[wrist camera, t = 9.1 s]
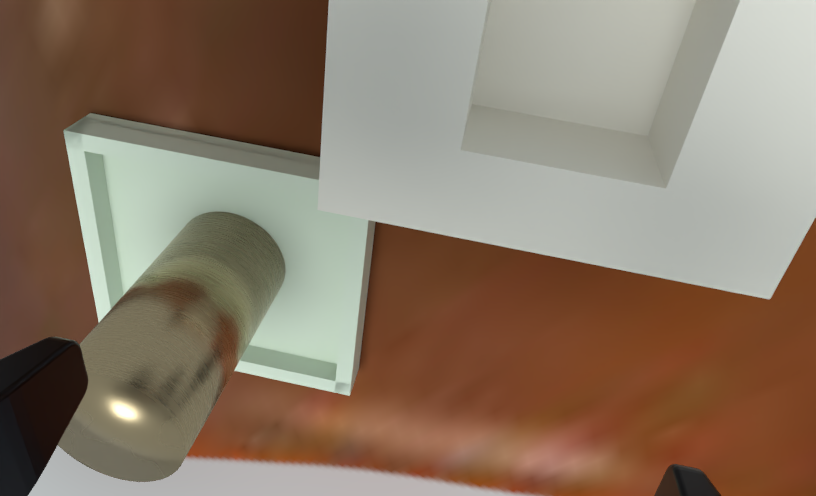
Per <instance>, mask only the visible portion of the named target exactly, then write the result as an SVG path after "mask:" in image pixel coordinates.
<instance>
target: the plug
mask: <svg viewBox="0 0 816 496" xmlns="http://www.w3.org/2000/svg"><path fill="white" fill-rule="evenodd" d="M285 272H286V270H285V261H284V258H283V255H282V252H281V250H280V248H279V246H278V245H277V243H276V242H275V240H274V239H273V238H272V237H271V236H270V234H269V233H267V232H266V231H265V230H264V229H263V228H262V227H261V226H259V225H258V224H256V223H255V222H253V221H251V220H249V219H247V218H245V217H243V216H240V215H237V214H234V213H229V212H218V211H216V212H208V213H204V214H201V215H199V216H196V217H195V218H193V219H192V220H191V221H189V222H188V223H187V224H186V225H185V227H184V228H183V229H182V230H181V231H180V232H179V233H178V234H177V236H176V237H175V238H174V239H173V240H172V241H171V242H170V243H169V245H168V246H167V247H166V248H165V249H164V250H163V251H162V252H161V254H160V255H159V256H158V257H157V258H156V259H155V260H154V261H153V263H152V264H151V265H150V266H149V267H148V268H147V269H146V270H145V271H144V273H143V274H142V275H141V276H140V277H139V278H138V279H137V280H136V282H135V283H134V284H133V285H132V286H131V287H130V288H129V289H128V291H127V292H126V293H125V294H124V295H123V296H122V297H121V298H120V300H119V301H118V302H117V303H116V304H115V305H114V306H113V307H112V309H111V310H110V311H109V312H108V313H107V314H106V315H105V316H104V318H103V319H102V320H101V321H100V322H99V323H98V324H97V325H96V327H95V328H94V329H93V330H92V331H91V332H90V333H89V334H88V336H87V337H86V338H85V339H84V340H83V341H82V342H81V343H80V347H81V350H82V354H83V359H84V363H85V367H86V371H87V375H88V387H87V390H86V393H85V395H84V397H83V399H82V401H81V403H80V405H79V406H78V408H77V410H76V412H75V414H74V416H73V417H72V419H71V421H70V423H69V425H68V427H67V428H66V430H65V432H64V434H63V436H62V438H61V439H60V441H59V443H58V446H59V447H60V448H62V449H63V450H64V451H65V452H66V453H67V454H69V455H70V456H72V457H73V458H74V459H76V460H77V461H79V462H81V463H82V464H84V465H86V466H87V467H89V468H91V469H93V470H95V471H98V472H100V473H103V474H105V475H108V476H111V477H114V478H118V479H122V480H128V481H136V482H148V481H156V480H160V479H163V478H166V477H168V476H170V475H172V474H173V473H174V472H175V471H176V470H178V468H179V467H180V466H181V464H182V462H183V461H184V459H185V457H186V455H187V454H188V452H189V450H190V448H191V446H192V445H193V443H194V441H195V439H196V438H197V436H198V434H199V432H200V430H201V429H202V427H203V425H204V423H205V422H206V420H207V418H208V416H209V414H210V413H211V411H212V409H213V407H214V406H215V404H216V402H217V400H218V398H219V397H220V395H221V393H222V391H223V390H224V388H225V386H226V384H227V382H228V381H229V379H230V377H231V375H232V374H233V372H234V370H235V368H236V366H237V365H238V363H239V361H240V359H241V358H242V356H243V354H244V352H245V350H246V349H247V347H248V345H249V343H250V342H251V340H252V338H253V336H254V334H255V333H256V331H257V329H258V327H259V326H260V324H261V322H262V320H263V318H264V317H265V315H266V313H267V311H268V310H269V308H270V306H271V304H272V302H273V301H274V299H275V297H276V295H277V294H278V292H279V290H280V288H281V286H282V284H283V282H284V279H285Z"/></svg>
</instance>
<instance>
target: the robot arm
mask: <svg viewBox="0 0 816 496" xmlns="http://www.w3.org/2000/svg"><path fill="white" fill-rule="evenodd" d="M87 387H88V375H87V371H86V367H85V363H84V359H83V354H82V350H81V347H80V345H79V344H78V343H77V342H76V341H74V340H69V339H65V338H60V337H48V338H46V339H43V340H41V341H39V342H37V343H35V344H33V345H30V346H28V347H26V348H24V349H22V350H20V351H18V352H15V353H13V354H11V355H9V356H7V357H5V358H2V359H0V496H28V494H29V493H30V491H31V490H32V488H33V487H34V485H35V484H36V482H37V481H38V479H39V477H40V475H41V474H42V472H43V470H44V469H45V467H46V465H47V463H48V461H49V460H50V458H51V456H52V454H53V452H54V450H55V449H56V446H57V445H58V443H59V441H60V439H61V438H62V436H63V434H64V432H65V430H66V428H67V427H68V425H69V423H70V421H71V419H72V417H73V416H74V414H75V412H76V410H77V408H78V406H79V405H80V403H81V401H82V399H83V397H84V395H85V393H86V390H87ZM654 496H721V495H720V493H719V492H718V491H717V489H716V488H715V487H714V485H713V484H712V483H711V481H710V480H709V479H708V477H707V476H706V475H705V473H703V472H702V471H701V470H699V469H697V468H692V467H688V466H683V465H678V464H672V465H670V466H669V467H668V469H667V470H666V472H665V474H664V476H663V479H662V481H661V483H660V485H659V487H658V489H657V491H656V493H655V495H654Z"/></svg>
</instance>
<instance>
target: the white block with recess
mask: <svg viewBox="0 0 816 496" xmlns="http://www.w3.org/2000/svg"><path fill="white" fill-rule="evenodd" d="M317 210H320V211H325V212H331V213H336V214H341V215H346V216H351V217H356V218H361V219H366V220H371V221H376V222H381V223H386V224H391V225H396V226H401V227H406V228H411V229H416V230H421V231H426V232H432V233H437V234H442V235H447V236H452V237H457V238H462V239H467V240H472V241H477V242H482V243H487V244H492V245H497V246H502V247H507V248H512V249H517V250H522V251H527V252H532V253H538V254H543V255H548V256H553V257H558V258H563V259H568V260H573V261H578V262H583V263H588V264H593V265H598V266H603V267H608V268H613V269H618V270H623V271H628V272H633V273H639V274H644V275H649V276H654V277H659V278H664V279H669V280H674V281H679V282H684V283H689V284H694V285H699V286H704V287H709V288H714V289H719V290H724V291H729V292H734V293H739V294H745V295H750V296H755V297H760V298H765V299H770V298H771V297H772V295H773V293H774V291H775V289H776V287H777V286H778V284H779V282H780V280H781V278H782V277H783V275H784V273H785V271H786V269H787V268H788V266H789V264H790V262H791V260H792V259H793V257H794V255H795V253H796V251H797V250H798V248H799V246H800V244H801V242H802V241H803V239H804V237H805V235H806V233H807V232H808V230H809V228H810V226H811V224H812V223H813V221H814V219H815V217H816V0H329V7H328V25H327V44H326V62H325V80H324V99H323V117H322V135H321V154H320V172H319V191H318V209H317Z"/></svg>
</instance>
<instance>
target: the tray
mask: <svg viewBox="0 0 816 496" xmlns="http://www.w3.org/2000/svg"><path fill="white" fill-rule="evenodd" d="M63 131H64V136H65V142H66V147H67V153H68V158H69V163H70V169H71V174H72V180H73V185H74V191H75V196H76V201H77V207H78V212H79V218H80V223H81V228H82V234H83V239H84V245H85V250H86V256H87V261H88V266H89V272H90V277H91V283H92V288H93V294H94V299H95V304H96V310H97V315H98V321H99V322H100V321H101V320H102V319H103V318H104V316H105V315H106V314H107V313H108V312H109V311H110V310H111V309H112V307H113V306H114V305H115V304H116V303H117V302H118V301H119V300H120V298H121V297H122V296H123V295H124V294H125V293H126V292H127V291H128V289H129V288H130V287H131V286H132V285H133V284H134V283H135V282H136V280H137V279H138V278H139V277H140V276H141V275H142V274H143V273H144V271H145V270H146V269H147V268H148V267H149V266H150V265H151V264H152V263H153V261H154V260H155V259H156V258H157V257H158V256H159V255H160V254H161V252H162V251H163V250H164V249H165V248H166V247H167V246H168V245H169V243H170V242H171V241H172V240H173V239H174V238H175V237H176V236H177V234H178V233H179V232H180V231H181V230H182V229H183V228H184V227H185V225H186V224H187V223H188V222H189V221H191V220H192V219H193V218H195V217H196V216H199V215H201V214H204V213H208V212H216V211H218V212H229V213H234V214H237V215H240V216H243V217H245V218H247V219H249V220H251V221H253V222H255V223H256V224H258V225H259V226H261V227H262V228H263V229H264V230H265V231H266V232H267V233H269V234H270V236H271V237H272V238H273V239H274V240H275V242H276V243H277V245H278V246H279V248H280V250H281V252H282V255H283V258H284V261H285V270H286V272H285V279H284V282H283V284H282V286H281V288H280V290H279V292H278V294H277V295H276V297H275V299H274V301H273V302H272V304H271V306H270V308H269V310H268V311H267V313H266V315H265V317H264V318H263V320H262V322H261V324H260V326H259V327H258V329H257V331H256V333H255V334H254V336H253V338H252V340H251V342H250V343H249V345H248V347H247V349H246V350H245V352H244V354H243V356H242V358H241V359H240V361H239V363H238V365H237V366H236V368H235V370H234V371H239V372H243V373H248V374H252V375H257V376H262V377H266V378H271V379H275V380H280V381H285V382H289V383H294V384H298V385H303V386H307V387H312V388H317V389H321V390H326V391H330V392H335V393H339V394H344V395H349V396H350V394H351V391H352V388H353V385H354V382H355V379H356V376H357V373H358V370H359V363H360V354H361V345H362V337H363V328H364V319H365V310H366V302H367V293H368V284H369V275H370V266H371V258H372V249H373V240H374V231H375V222H376V221H371V220H366V219H361V218H356V217H351V216H346V215H341V214H336V213H331V212H325V211H320V210H317V209H318V191H319V172H320V157H317V156H312V155H306V154H301V153H296V152H291V151H286V150H280V149H275V148H270V147H265V146H259V145H254V144H249V143H244V142H239V141H233V140H228V139H223V138H218V137H213V136H207V135H202V134H197V133H192V132H187V131H181V130H176V129H171V128H166V127H161V126H155V125H150V124H145V123H140V122H134V121H129V120H124V119H119V118H114V117H108V116H103V115H98V114H93V113H90V114H88V115H87V116H85V117H84V118H82V119H80V120H79V121H77V122H76V123H74V124H73V125H71V126H69V127H68V128H66V129H65V130H63Z"/></svg>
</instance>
